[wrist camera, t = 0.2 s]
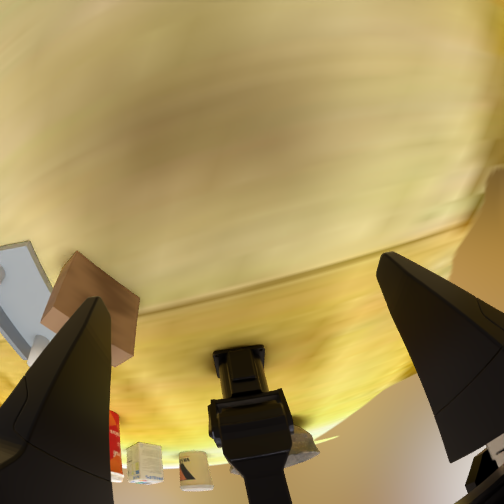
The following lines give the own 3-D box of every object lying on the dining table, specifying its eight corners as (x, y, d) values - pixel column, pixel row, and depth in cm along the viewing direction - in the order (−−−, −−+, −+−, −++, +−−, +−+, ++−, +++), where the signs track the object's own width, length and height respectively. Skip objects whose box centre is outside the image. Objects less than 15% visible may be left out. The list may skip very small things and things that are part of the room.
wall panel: (88, 346, 30) (82, 378, 26) (26, 345, 29) (18, 373, 25) (29, 240, 20) (8, 274, 17) (-33, 253, 19) (-53, 282, 15)
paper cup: (120, 423, 46) (120, 483, 35) (85, 414, 43) (82, 476, 32) (127, 412, 43) (128, 480, 32) (88, 402, 39) (84, 472, 28)
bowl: (263, 443, 67) (270, 474, 59) (205, 436, 56) (210, 474, 48) (324, 416, 60) (336, 450, 52) (272, 407, 49) (284, 453, 41)
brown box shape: (140, 297, 27) (133, 355, 21) (122, 311, 28) (114, 367, 22) (77, 250, 22) (53, 306, 17) (62, 268, 23) (39, 323, 17)
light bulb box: (147, 452, 62) (149, 485, 54) (125, 448, 59) (126, 482, 50) (162, 445, 58) (165, 482, 49) (137, 441, 55) (139, 479, 46)
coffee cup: (184, 449, 61) (189, 488, 52) (214, 451, 66) (220, 488, 56) (171, 455, 65) (175, 490, 56) (199, 457, 69) (204, 491, 60)
